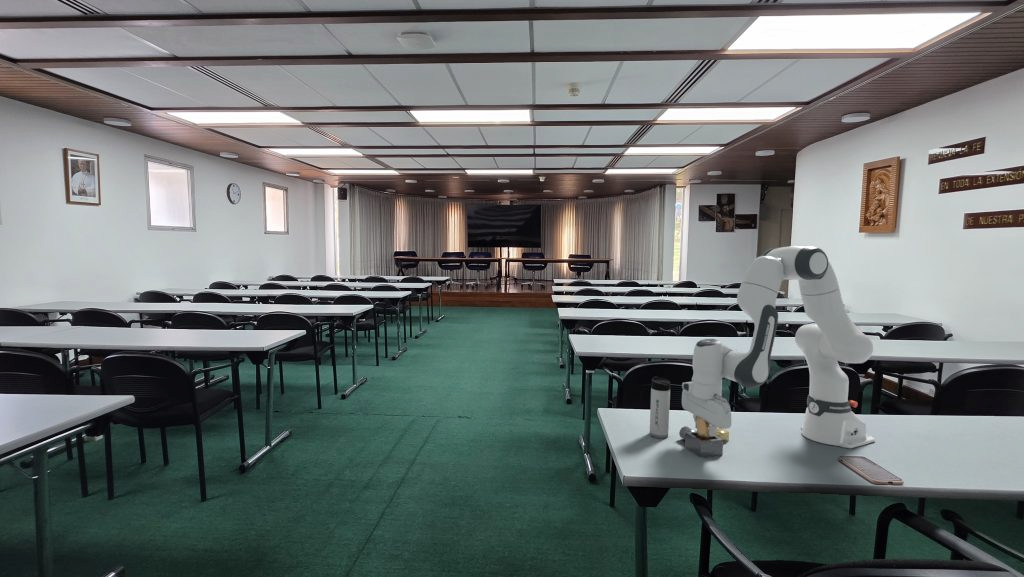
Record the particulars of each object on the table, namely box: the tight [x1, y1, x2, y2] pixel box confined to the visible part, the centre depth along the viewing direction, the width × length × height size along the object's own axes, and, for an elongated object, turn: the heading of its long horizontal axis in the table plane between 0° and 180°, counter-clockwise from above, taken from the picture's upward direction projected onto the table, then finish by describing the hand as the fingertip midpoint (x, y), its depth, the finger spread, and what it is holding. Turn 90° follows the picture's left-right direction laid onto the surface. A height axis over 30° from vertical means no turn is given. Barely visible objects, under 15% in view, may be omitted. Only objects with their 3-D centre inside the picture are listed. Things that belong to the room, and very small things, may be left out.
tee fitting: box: [678, 425, 724, 458], centre depth 153 cm, size 8×14×5 cm, turn 14°
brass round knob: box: [715, 427, 730, 443], centre depth 160 cm, size 5×5×3 cm
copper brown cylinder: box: [696, 417, 712, 440], centre depth 150 cm, size 4×4×10 cm
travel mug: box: [649, 376, 671, 439], centre depth 163 cm, size 6×7×20 cm
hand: (704, 432), depth 150 cm, fingers closed on copper brown cylinder, 4 cm apart
